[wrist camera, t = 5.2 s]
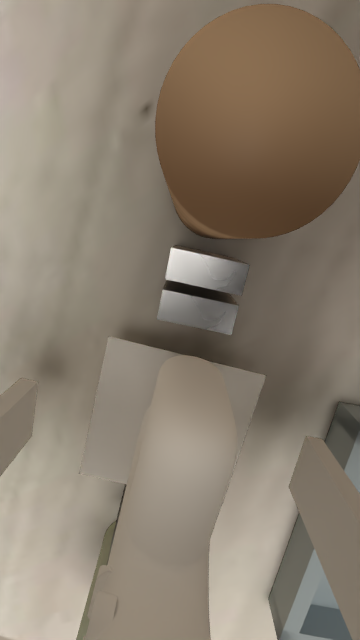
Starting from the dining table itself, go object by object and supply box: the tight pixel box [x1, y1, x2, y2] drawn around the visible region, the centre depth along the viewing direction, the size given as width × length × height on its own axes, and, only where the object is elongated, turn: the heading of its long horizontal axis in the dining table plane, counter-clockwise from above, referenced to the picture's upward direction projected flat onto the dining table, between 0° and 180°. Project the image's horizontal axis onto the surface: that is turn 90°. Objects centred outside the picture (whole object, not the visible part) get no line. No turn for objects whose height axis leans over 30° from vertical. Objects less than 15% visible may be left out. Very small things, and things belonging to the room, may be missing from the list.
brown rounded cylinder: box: [155, 4, 360, 239], centre depth 12 cm, size 4×4×10 cm
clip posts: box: [107, 245, 250, 564], centre depth 17 cm, size 30×3×5 cm, turn 168°
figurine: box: [79, 336, 266, 640], centre depth 12 cm, size 7×9×15 cm
